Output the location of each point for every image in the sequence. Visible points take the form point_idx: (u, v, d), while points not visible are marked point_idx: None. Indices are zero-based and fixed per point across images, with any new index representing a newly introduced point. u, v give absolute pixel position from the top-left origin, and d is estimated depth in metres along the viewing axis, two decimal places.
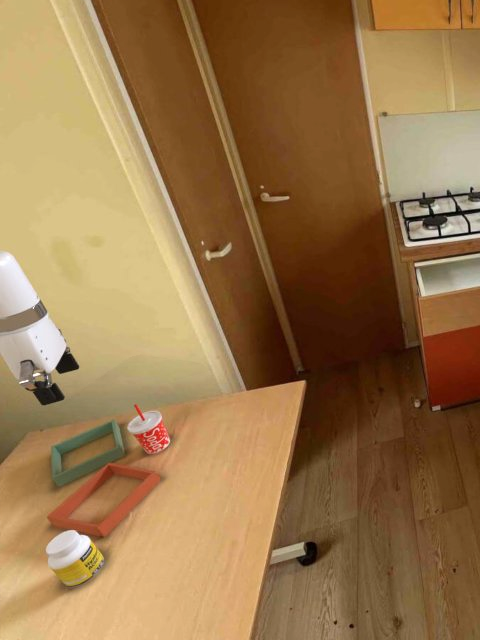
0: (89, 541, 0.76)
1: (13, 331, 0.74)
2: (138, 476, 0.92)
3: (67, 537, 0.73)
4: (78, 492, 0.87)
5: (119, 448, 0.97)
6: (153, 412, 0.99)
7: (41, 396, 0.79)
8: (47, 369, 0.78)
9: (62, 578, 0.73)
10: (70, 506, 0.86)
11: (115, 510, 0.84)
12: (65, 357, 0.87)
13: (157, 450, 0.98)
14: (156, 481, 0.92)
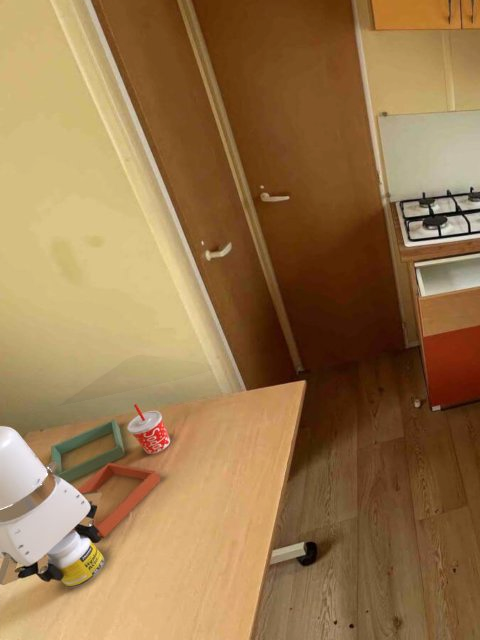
0: (89, 541, 0.75)
1: None
2: (138, 476, 0.92)
3: (67, 537, 0.73)
4: None
5: (119, 448, 0.97)
6: (153, 412, 0.99)
7: (38, 575, 0.70)
8: (26, 563, 0.67)
9: None
10: None
11: (115, 510, 0.84)
12: (85, 531, 0.76)
13: (157, 450, 0.98)
14: (156, 481, 0.92)
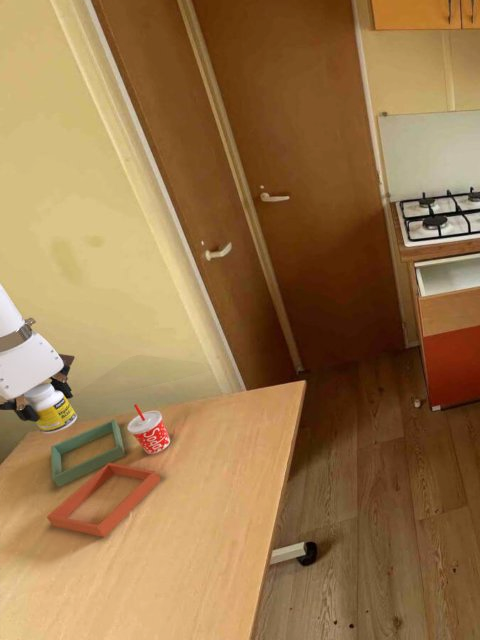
0: (62, 394, 0.88)
1: None
2: (138, 476, 0.92)
3: (43, 387, 0.86)
4: (78, 492, 0.87)
5: (119, 448, 0.97)
6: (153, 412, 0.99)
7: (17, 413, 0.83)
8: (6, 396, 0.79)
9: (38, 422, 0.85)
10: (70, 506, 0.86)
11: (115, 510, 0.84)
12: (58, 386, 0.88)
13: (157, 450, 0.98)
14: (156, 481, 0.92)
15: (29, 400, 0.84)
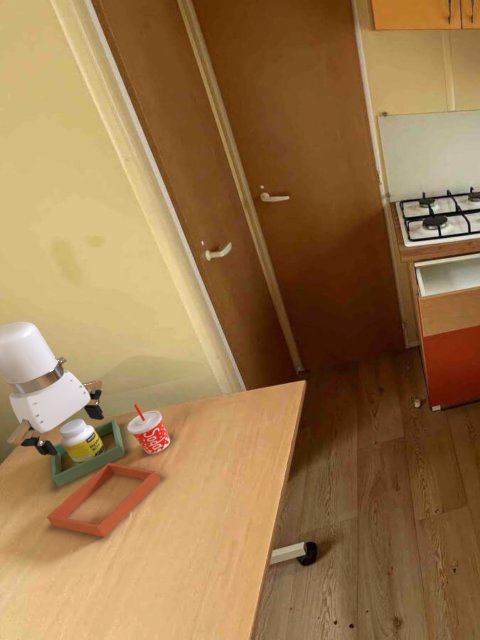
0: (93, 429, 0.96)
1: (19, 395, 0.84)
2: (138, 476, 0.92)
3: (76, 423, 0.94)
4: (78, 492, 0.87)
5: (119, 448, 0.97)
6: (153, 412, 0.99)
7: (37, 449, 0.88)
8: (40, 430, 0.87)
9: (72, 455, 0.94)
10: (70, 506, 0.86)
11: (115, 510, 0.84)
12: (91, 408, 0.97)
13: (157, 450, 0.98)
14: (156, 481, 0.92)
15: (64, 436, 0.92)
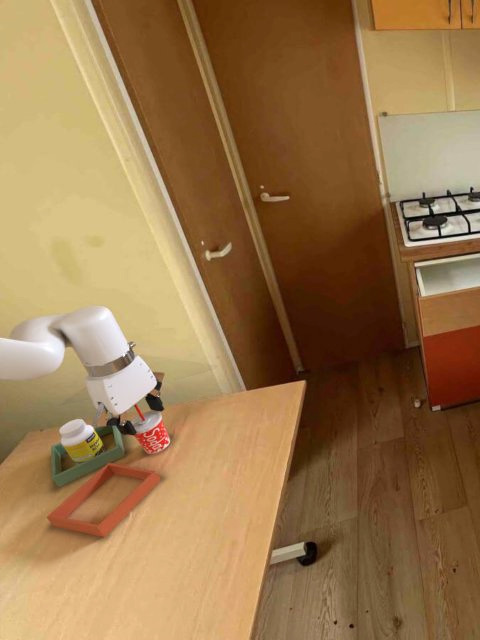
0: (93, 429, 0.96)
1: (95, 377, 0.85)
2: (138, 476, 0.92)
3: (76, 423, 0.94)
4: (78, 492, 0.87)
5: (119, 448, 0.97)
6: (153, 412, 0.99)
7: (118, 428, 0.92)
8: (114, 413, 0.88)
9: (72, 455, 0.94)
10: (70, 506, 0.86)
11: (115, 510, 0.84)
12: (153, 400, 0.97)
13: (157, 450, 0.98)
14: (156, 481, 0.92)
15: (64, 436, 0.92)
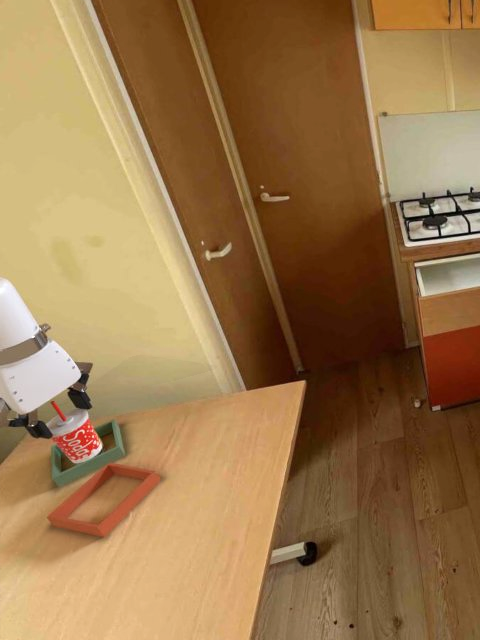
0: None
1: None
2: (138, 476, 0.92)
3: None
4: (78, 492, 0.87)
5: (119, 448, 0.97)
6: (78, 410, 0.82)
7: (28, 430, 0.74)
8: (19, 411, 0.71)
9: None
10: (70, 506, 0.86)
11: (115, 510, 0.84)
12: (77, 396, 0.80)
13: (83, 456, 0.81)
14: (156, 481, 0.92)
15: None
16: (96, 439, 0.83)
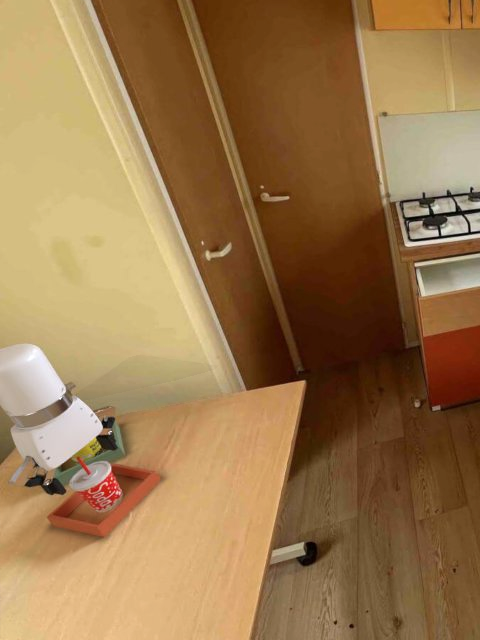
0: None
1: (22, 428, 0.73)
2: (138, 476, 0.92)
3: None
4: None
5: (119, 448, 0.97)
6: (101, 463, 0.86)
7: (43, 488, 0.77)
8: (47, 468, 0.75)
9: None
10: (70, 506, 0.86)
11: (115, 510, 0.84)
12: (104, 438, 0.85)
13: (106, 507, 0.86)
14: (156, 481, 0.92)
15: None
16: (118, 489, 0.88)
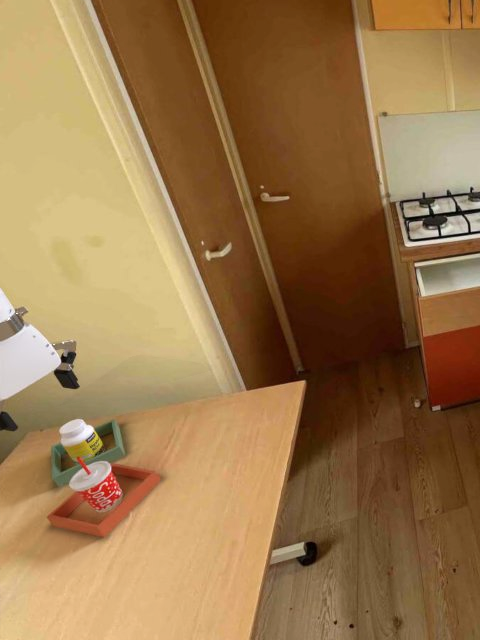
0: (93, 429, 0.96)
1: None
2: (138, 476, 0.92)
3: (76, 423, 0.94)
4: None
5: (119, 448, 0.97)
6: (101, 463, 0.86)
7: None
8: None
9: (72, 455, 0.94)
10: (70, 506, 0.86)
11: (115, 510, 0.84)
12: (63, 374, 0.78)
13: (106, 507, 0.86)
14: (156, 481, 0.92)
15: (64, 436, 0.92)
16: (118, 489, 0.88)
